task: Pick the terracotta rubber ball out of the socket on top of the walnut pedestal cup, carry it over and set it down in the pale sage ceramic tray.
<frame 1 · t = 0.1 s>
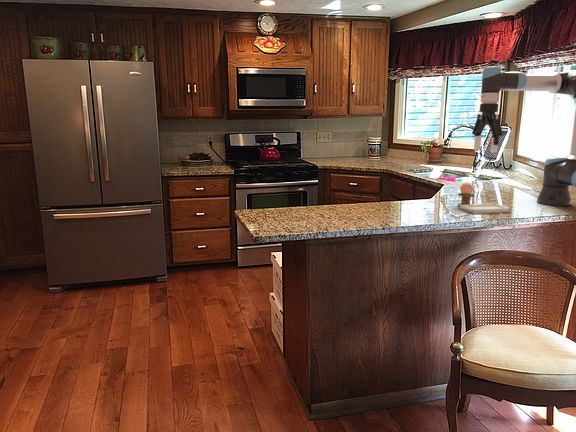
hand: (485, 151, 221), 28 cm above the worktop, fingers open, 13 cm apart
tray: (484, 210, 229), on the worktop
pedestal: (465, 206, 240), on the worktop
ball: (466, 194, 239), point 6 cm above the worktop, touching pedestal
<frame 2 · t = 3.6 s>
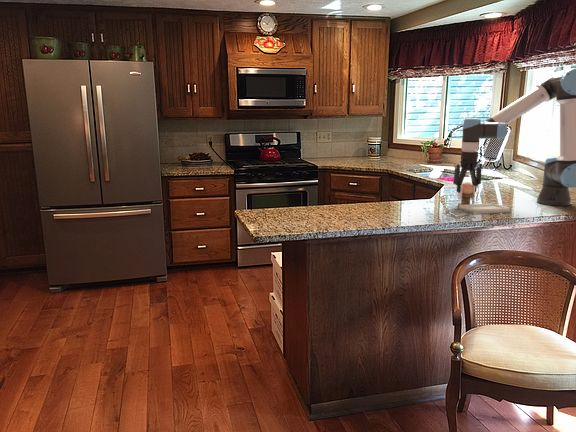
hand: (465, 198, 239), 4 cm above the worktop, fingers closed on ball, 6 cm apart
ball: (466, 194, 239), point 6 cm above the worktop, touching gripper, pedestal
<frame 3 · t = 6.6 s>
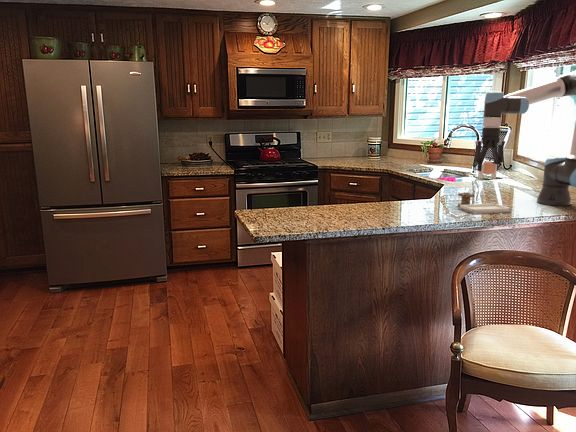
hand: (486, 178, 226), 15 cm above the worktop, fingers closed on ball, 6 cm apart
ball: (487, 174, 226), point 17 cm above the worktop, tilted 5°, touching gripper
when the fingers open (1 cm above the worktop, at t = 9.7 s): ball drops 2 cm, resting on tray.
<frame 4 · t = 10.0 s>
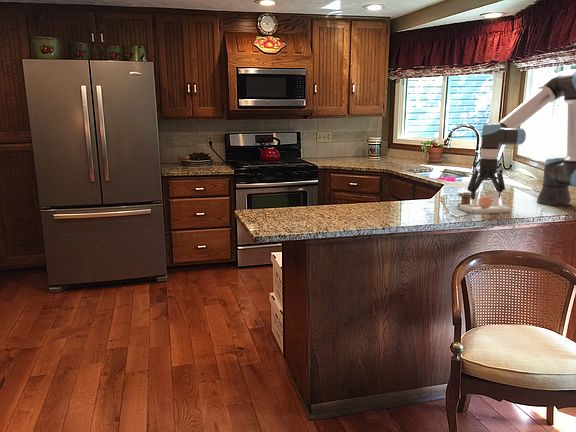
hand: (484, 205, 229), 2 cm above the worktop, fingers open, 10 cm apart
ball: (485, 208, 229), point 1 cm above the worktop, tilted 6°, touching tray
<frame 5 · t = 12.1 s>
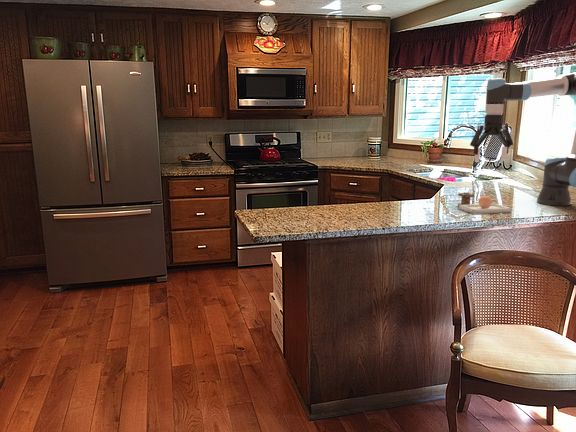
hand: (490, 161, 225), 23 cm above the worktop, fingers open, 13 cm apart
nothing on the worktop moved.
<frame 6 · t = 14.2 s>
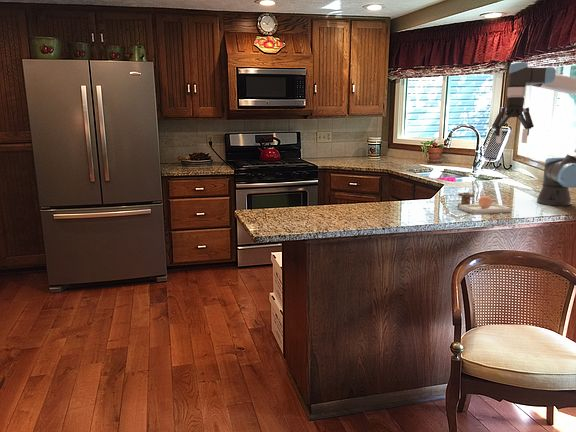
hand: (511, 142, 233), 31 cm above the worktop, fingers open, 13 cm apart
nothing on the worktop moved.
at the end: ball inside the target area on the tray (0.3 cm from its centre), point 1.0 cm above the tray's base; ball touching tray; the gripper is holding nothing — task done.
